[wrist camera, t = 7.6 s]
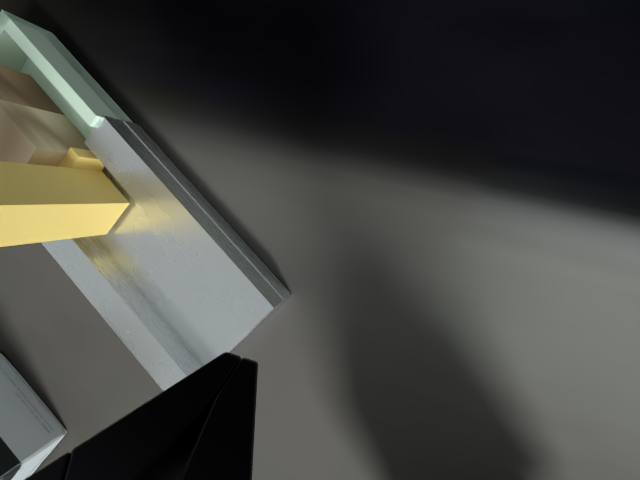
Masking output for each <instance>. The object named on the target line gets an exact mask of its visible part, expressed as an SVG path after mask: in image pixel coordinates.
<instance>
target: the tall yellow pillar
mask: <svg viewBox="0 0 640 480" xmlns="http://www.w3.org/2000/svg"><path fill="white" fill-rule="evenodd" d="M103 168H104V165H103V164H102V163H101V161H100V160H99V159H98V158H97V157H96V156H95V155H94V153H93V152H92V151H91V150H85V149H78V148H72V147H70V149H69V151H68V152H67V154H66V155H65V157H64V158H63V160H62V162H61V163H60V165H59V166H58V167H56V166H45V165H34V164H23V163H12V162H1V161H0V247H4V246H13V245H21V244H30V243H38V242H46V241H55V240H63V239H72V238H80V237H89V236H97V235H105V234H107V233H108V232H109V230H110V229H111V228H112V226H113V225H114V224H115V222H116V221H117V220H118V218H119V217H120V216H121V214H122V213H123V212H124V210H125V209H126V208H127V206H128V205H129V204H130V203H129V202H128V200H127V199H126V198H125V197H124V196H123V195H122V194H121V192H120V191H119V190H118V189H117V188H116V187H115V185H114V184H113V183H112V182H111V181H110V180H109V179H108V177H107V176H106V175H105V174H104V173H103V172H102V169H103Z"/></svg>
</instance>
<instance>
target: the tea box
mask: <svg viewBox="0 0 640 480" xmlns="http://www.w3.org/2000/svg"><path fill="white" fill-rule="evenodd" d="M66 432H67V431H66V429H65V428H64V427H63V426H62V425H61V423H60V422H59V421H58V420H57V418H56V417H55V416H54V415H53V413H52V412H51V411H50V410H49V408H48V407H47V406H46V405H45V404H44V402H43V401H42V400H41V399H40V398H39V396H38V395H37V394H36V393H35V392H34V390H33V389H32V388H31V387H30V386H29V384H28V383H27V382H26V381H25V380H24V378H23V377H22V376H21V375H20V374H19V373H18V371H17V370H16V369H15V368H14V367H13V366H12V364H11V363H10V362H9V361H8V360H7V359H6V358H5V356H3V355H2V354H1V353H0V480H24V479H26V478H27V477H29V476H31V475H32V474H33V472H34V471H35V470H36V469H37V468H38V467H39V465H40V464H41V463H42V461H43V460H44V459H45V458H46V457H47V456H48V455H49V454H50V452H51V451H52V450H53V449H54V448H55V447H56V445H57V444H58V443H59V441H60V440H61V439H62V438H63V437H64V436H65V434H66Z"/></svg>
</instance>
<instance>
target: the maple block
mask: <svg viewBox="0 0 640 480" xmlns="http://www.w3.org/2000/svg"><path fill="white" fill-rule="evenodd" d="M85 141H86V138H85V137H84V136H83V135H82V134H81V132H80V131H79V130H78V129H77V128H76V127H75V126H74V124H73V123H72V122H71V121H70V120H69V119H68V118H67V116H66V115H62V114H57V113H53V112H49V111H45V110H41V109H37V108H33V107H29V106H24V105H20V104H16V103H12V102H8V101H4V100H0V161H1V162H12V163H23V164H34V165H45V166H56V167H58V166H59V165H60V163H61V162H62V160H63V158H64V157H65V155H66V154H67V152H68V151H69V149H70V147H72V148H78V149H85V150H90V149H89V148H88V147H87V145H86V144H85V143H84V142H85Z"/></svg>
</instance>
